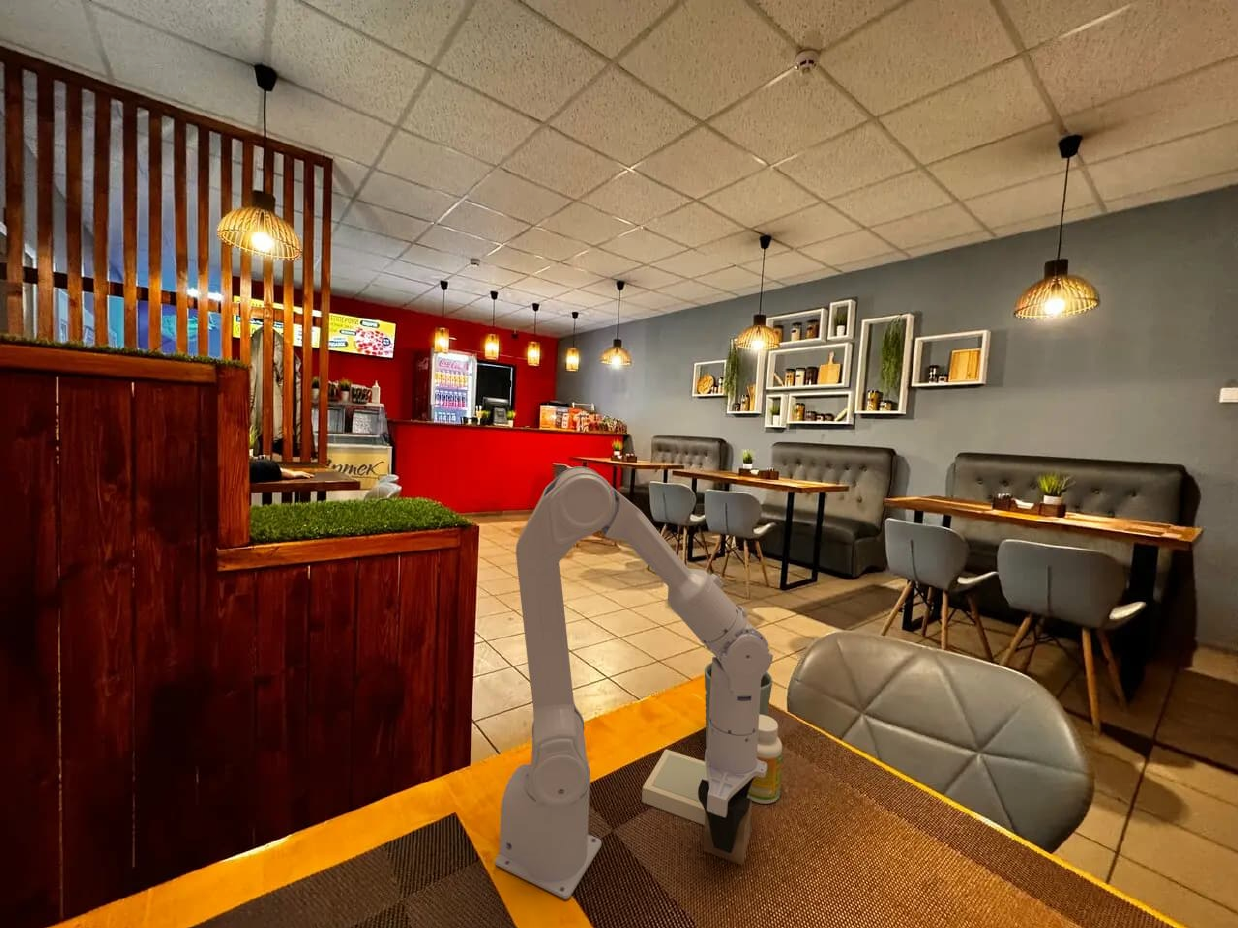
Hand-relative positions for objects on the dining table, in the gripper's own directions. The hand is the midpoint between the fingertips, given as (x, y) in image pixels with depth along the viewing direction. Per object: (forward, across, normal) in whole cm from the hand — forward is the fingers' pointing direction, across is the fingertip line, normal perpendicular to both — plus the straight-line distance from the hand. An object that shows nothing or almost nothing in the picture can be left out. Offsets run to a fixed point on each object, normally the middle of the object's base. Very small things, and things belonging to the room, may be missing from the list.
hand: (727, 832), depth 58 cm
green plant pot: (+2, +19, +3) cm, 19 cm away
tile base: (+1, +6, +7) cm, 9 cm away
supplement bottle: (+2, +11, -2) cm, 11 cm away
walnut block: (+1, 0, 0) cm, 1 cm away
